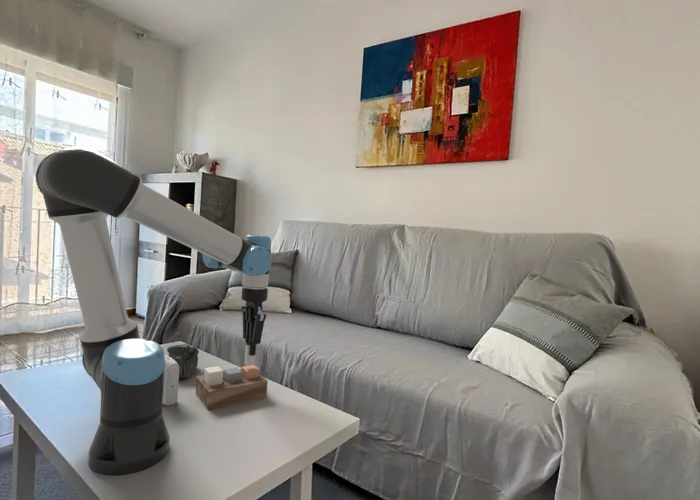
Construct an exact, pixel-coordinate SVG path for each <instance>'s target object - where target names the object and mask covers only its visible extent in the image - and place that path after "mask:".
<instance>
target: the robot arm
mask: <svg viewBox="0 0 700 500" xmlns="http://www.w3.org/2000/svg"><path fill="white" fill-rule="evenodd" d="M35 182H36V186H37V189H38V190H39V192H40V193H41V194H42V196H43V199H44V204H45V208H46V212H47V215H48V219H50V220H52V221H53V222H55V223H57V224H58V225H59V226H60V227H59V228H60V231H61V235H62V240H63V243H64V247H65V252H66V255H67V260H68V263H69V267H70V272H71V275H72V280H73V284H74V288H75V292H76V296H77V299H78V304H79V307H80V312H81V315H82V319H83V323H84V330H83V331H82V333H81V334H80V335H79V341H80V342H79V343H80V346H81V349H82V355H81V357H82V361H81V363H82V366H83V368H84V370H85V372H86V373H87V374H88V376H89V377H91V379H92V380H93V382H95V384H96V387H98V389H99V390H100V408H99V409H100V413H99V415H100V416H99V424H98V426H97V429H96V432H95V434H94V437H93V439H92V442H91V445H90V447H89V450H88V466H89V467H90V468H91V469H92V470H93V472H94V471H95V472H97V473H99V474H104V475H111V476H113V475H116V476H117V475H125V474H131V473H135V472H140V471H142V470H145V469H147V468H149V467H152V466H154V465H155V464H156V463H158V462H160V461H161V460H162V459H164V457H165V456H166V455H167V454H168V452H169V449H170V434H169V430H168V428H167V426H166V422H165V420H164V416H163V386H164V368H165V357H164V355H165V350H164V348H163V347H162V345H161V344H159V343H158V342H157V341H154V340H147V339H145V338H141V337H140V332H139V327H138V323H137V321H135V320H133V319H131V318H129V316H128V312H127V308H126V302H125V299H124V298H125V297H124V295H123V290H122V285H121V281H120V276H119V272H118V271H119V270H118V267H117V263H116V258H115V254H114V249H113V245H112V240H111V234H110V231H109V227H108V223H107V218H108V216H111V217H113V218H115V219H118V218H123V217H125V218H127V219H129V220H131V221H133V222H135V223H137V224H139V225H141V226H143V227H145V228H148V229H150V230H152V231H154V232H156V233H158V234H161V235H163V236H165V237H166V238H168V239H172V240H173V241H176V242H178V243H180V244H181V245H184V246H186V247H188V248H190V249H193V250H194V251H196V252H198V253H201V254H202V261H203V264H204V265H205V266H206V267H207V268H212V269H227V270H231V271H235V272H239V273H242V279H241V281H242V283H241V284H242V286H243V287H242V288H241V300H242V301H244V302H245V305H244V306H243V305H242V306H241V315H242V338H243V339H244V342H245V350H244V351H245V353H244V366H251V365H255V366H256V357H257V356H256V355H257V345H260V344H261V343H262V342H261V341H262V337H263V331H264V330H263V329H264V326H265V321H266V318H267V314H266V313H263V303H264V302H266V301H267V300H268V297H269V296H268V294H269V289H268V288H267V287H268V286H269V279H270V268H271V265H272V254H271V253H272V240H271V237H269V236H267V235H258V234H247V235H246V236H245V238H241V237H240V236H238V235H236V234H235V233H232V232H231V231H230V230H227V229H225V228H223V227H221V226H220V225H218V224H216V223H215V222H213V221H210V220H209V219H207V218H206V217H204V216H202V215H199V213H196V212H195V211H192V210H191V209H188V208H187V207H185V206H183V205H182V204H180V203H178V202H176V201H175V200H172V198H171V199H170V198H169V197H167V196H165V195H163V194H162V193H160V192H158V191H156V190H154V189H152V188H151V187H148V186H147V185H145V184H144V183H143V179H142V177H141V176H139V175H137V174H136V173H134V172H132V171H130V170H128V169H127V168H125V167H124V166H122V165H121V164H119V163H117V162H116V161H114V160H112V159H111V158H109V157H108V156H106V155H104V154H102V153H100V152H99V151H96V150H94V149H92V148H88V147H84V146H70V147H69V146H68V147H64V148H62V149H60V150H58V151H55V152H52V153H50V154H48V155H46V156H45V157H44V158H43V159H42V160H41V161H40V163H39V164H38V166H37V168H36V172H35Z"/></svg>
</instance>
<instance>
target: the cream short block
mask: <svg viewBox="0 0 700 500" xmlns="http://www.w3.org/2000/svg"><path fill="white" fill-rule="evenodd" d="M223 370H224V369H222V368H221V367H220V366H219V365H217V366H210V367H205V368H204V372H203V375H204V384H205V385H206V386H207V387H208V386H213V385H219V384H222V382H223Z"/></svg>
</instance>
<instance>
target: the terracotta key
mask: <svg viewBox="0 0 700 500" xmlns="http://www.w3.org/2000/svg"><path fill="white" fill-rule="evenodd" d="M240 369H241V372H242V374H241V376H242V377H243V378H244V379H245V380H247V379H253V378H258V377H259V374H260V368H258V367H257V366H256V364H255V365H251V366H246V365H244V366H241V368H240Z"/></svg>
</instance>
